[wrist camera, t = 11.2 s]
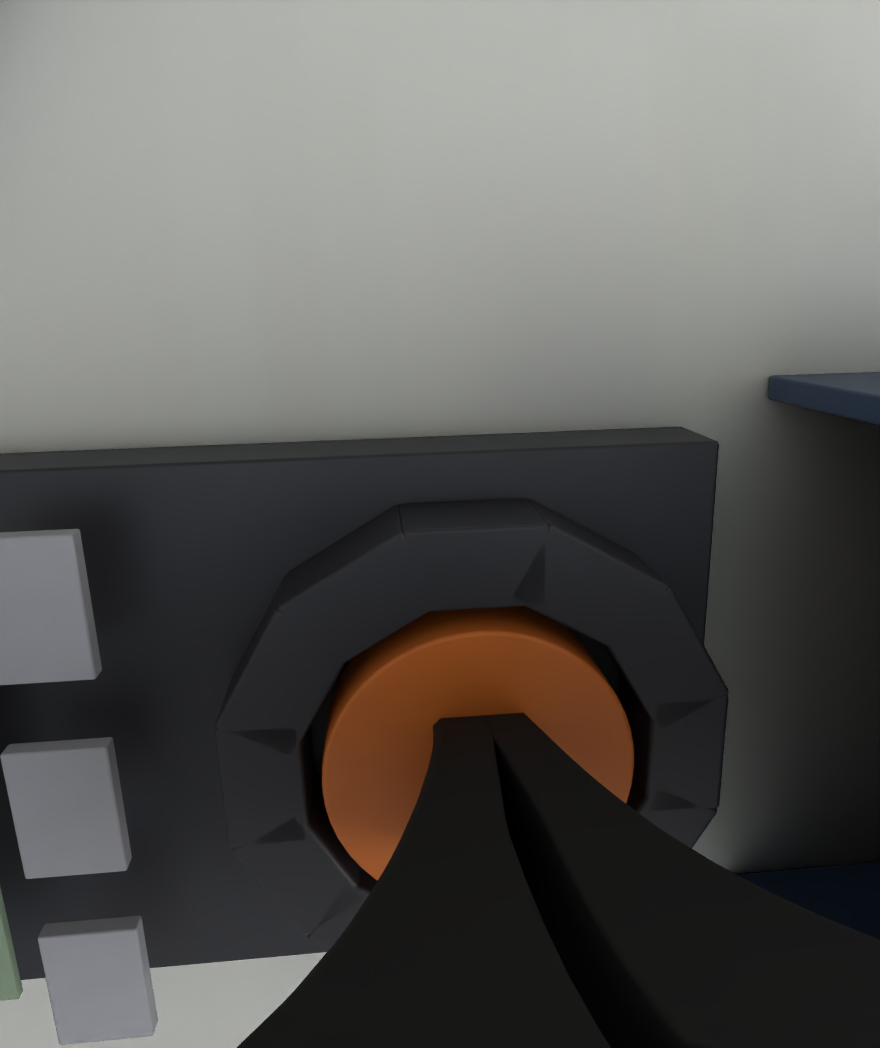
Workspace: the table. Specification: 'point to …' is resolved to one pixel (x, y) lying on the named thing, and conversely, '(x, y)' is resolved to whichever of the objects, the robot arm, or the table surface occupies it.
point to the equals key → (458, 713)
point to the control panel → (338, 646)
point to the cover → (850, 890)
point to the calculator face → (67, 798)
